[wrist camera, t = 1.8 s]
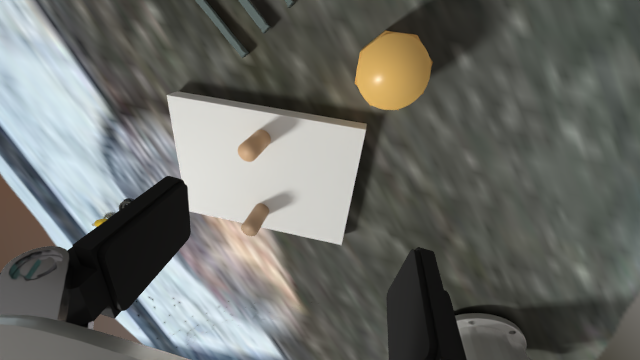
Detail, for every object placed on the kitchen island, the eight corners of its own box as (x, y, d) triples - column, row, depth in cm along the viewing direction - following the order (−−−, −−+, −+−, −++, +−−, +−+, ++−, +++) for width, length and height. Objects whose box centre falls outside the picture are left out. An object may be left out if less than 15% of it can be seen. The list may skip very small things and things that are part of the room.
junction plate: (366, 123, 29) (364, 144, 24) (343, 234, 37) (337, 268, 32) (178, 91, 31) (138, 103, 26) (195, 202, 39) (167, 229, 34)
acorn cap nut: (429, 36, 24) (442, 38, 19) (411, 99, 27) (418, 115, 22) (366, 27, 24) (363, 27, 20) (355, 90, 27) (350, 104, 23)
